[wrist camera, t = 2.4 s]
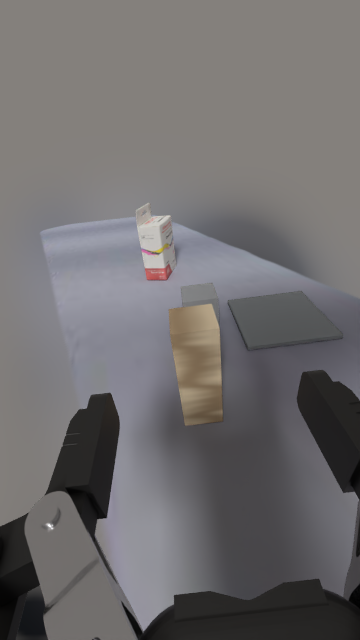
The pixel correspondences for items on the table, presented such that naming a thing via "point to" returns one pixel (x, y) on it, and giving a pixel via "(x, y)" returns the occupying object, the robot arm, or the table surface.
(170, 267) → the ink cartridge box
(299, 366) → the table surface
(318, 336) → the slate mat
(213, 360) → the maple block
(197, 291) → the grey block
